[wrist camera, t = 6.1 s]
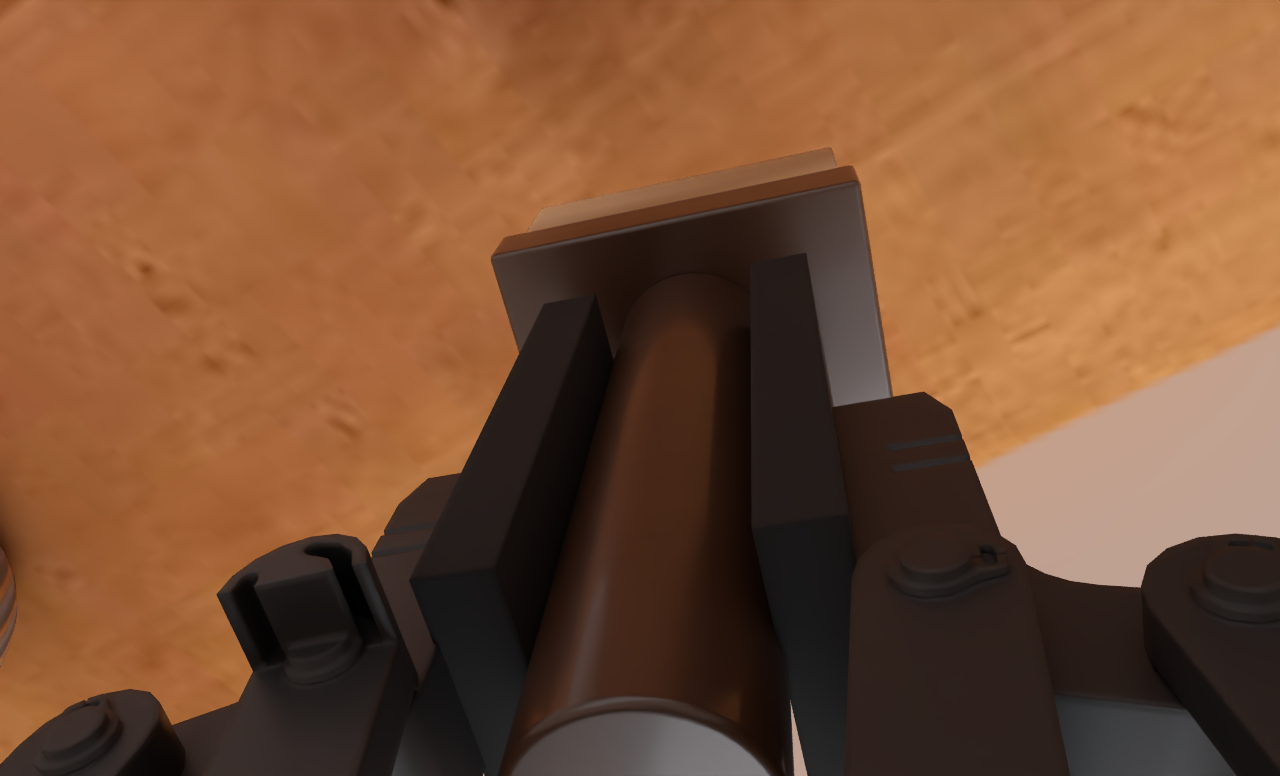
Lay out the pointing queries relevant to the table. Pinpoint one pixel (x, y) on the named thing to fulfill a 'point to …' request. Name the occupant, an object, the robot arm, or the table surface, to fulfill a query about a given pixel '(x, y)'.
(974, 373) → the table surface
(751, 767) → the brush
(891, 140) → the table surface
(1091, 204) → the table surface
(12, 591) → the vase
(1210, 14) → the table surface
